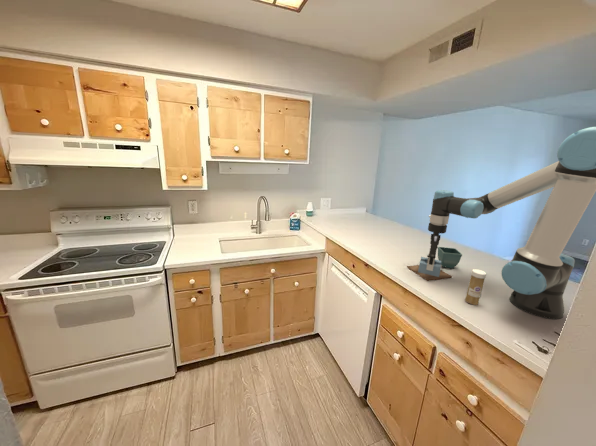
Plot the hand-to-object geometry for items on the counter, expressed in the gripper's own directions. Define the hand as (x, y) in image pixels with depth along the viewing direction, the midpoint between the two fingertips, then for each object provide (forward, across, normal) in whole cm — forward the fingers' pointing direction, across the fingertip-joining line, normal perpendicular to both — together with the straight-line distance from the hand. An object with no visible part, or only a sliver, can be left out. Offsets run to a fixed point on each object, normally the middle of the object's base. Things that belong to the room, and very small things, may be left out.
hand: (430, 264), depth 119 cm
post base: (+4, 0, 0) cm, 4 cm away
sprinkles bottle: (+4, +19, +16) cm, 26 cm away
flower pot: (+4, -15, +8) cm, 17 cm away
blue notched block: (+3, 0, 0) cm, 3 cm away
